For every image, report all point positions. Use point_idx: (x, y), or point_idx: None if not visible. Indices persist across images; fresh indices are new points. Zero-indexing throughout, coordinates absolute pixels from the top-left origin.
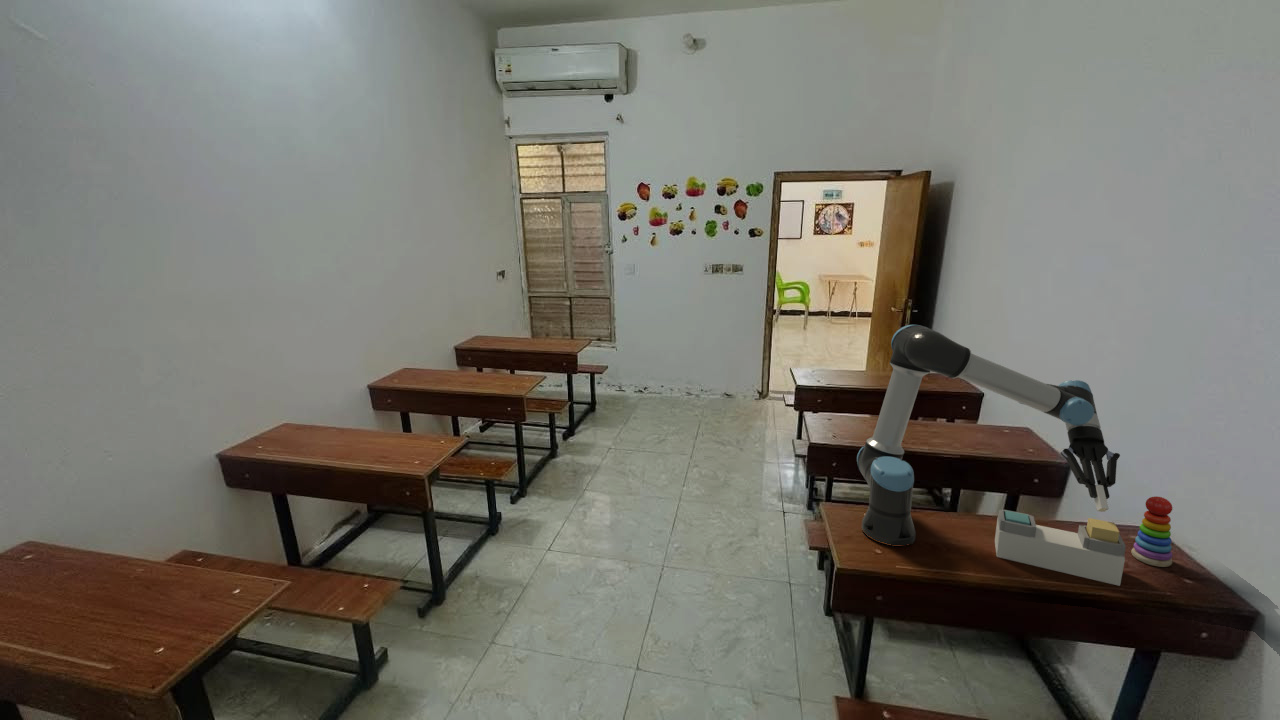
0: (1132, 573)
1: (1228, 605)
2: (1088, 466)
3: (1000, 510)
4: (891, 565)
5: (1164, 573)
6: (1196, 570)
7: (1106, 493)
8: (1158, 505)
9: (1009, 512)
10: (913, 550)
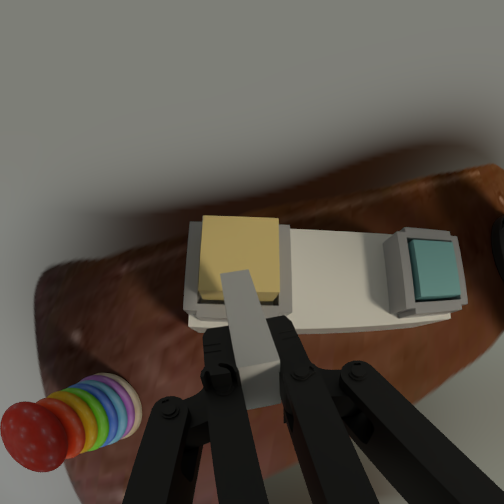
0: (162, 323)
1: (53, 271)
2: (354, 491)
3: (465, 297)
4: (482, 172)
5: (103, 351)
6: (52, 386)
7: (217, 344)
8: (30, 412)
9: (453, 285)
10: (484, 220)
